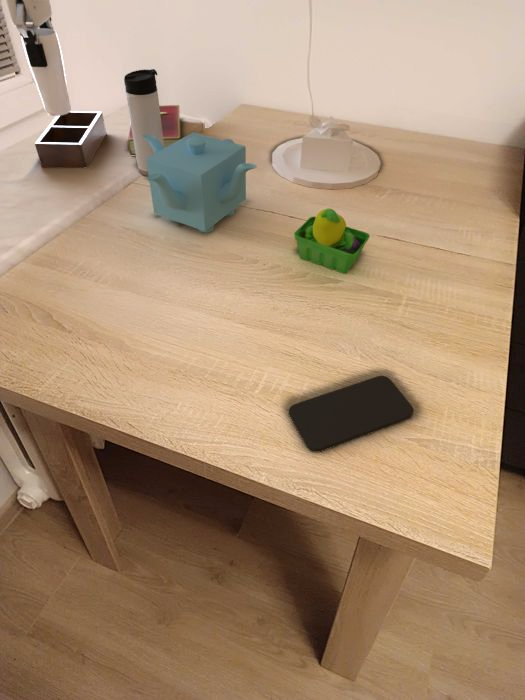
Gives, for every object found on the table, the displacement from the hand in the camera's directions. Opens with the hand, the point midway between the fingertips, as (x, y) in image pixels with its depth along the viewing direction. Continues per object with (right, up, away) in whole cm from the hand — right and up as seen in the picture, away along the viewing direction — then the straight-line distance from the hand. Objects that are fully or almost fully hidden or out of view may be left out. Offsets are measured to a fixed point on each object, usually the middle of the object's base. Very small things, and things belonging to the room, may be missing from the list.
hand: (45, 60), depth 101 cm
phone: (+55, -67, -37) cm, 94 cm away
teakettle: (+31, -33, -3) cm, 46 cm away
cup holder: (0, -11, +18) cm, 21 cm away
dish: (+59, -16, +15) cm, 62 cm away
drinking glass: (0, -7, +7) cm, 10 cm away
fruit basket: (+55, -43, -13) cm, 71 cm away
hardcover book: (+18, -6, +24) cm, 30 cm away
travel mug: (+20, -19, +11) cm, 29 cm away
